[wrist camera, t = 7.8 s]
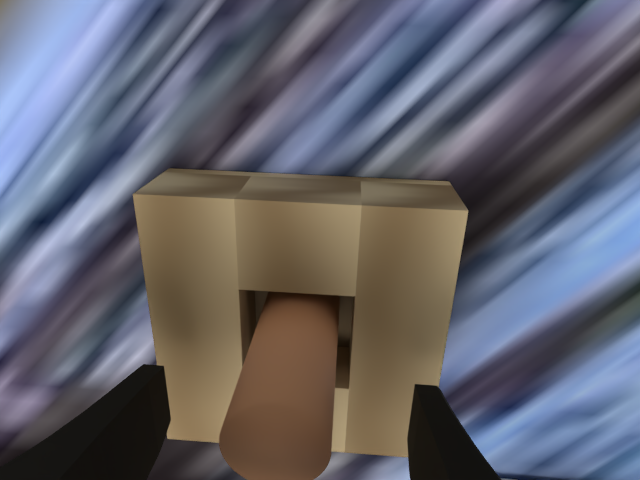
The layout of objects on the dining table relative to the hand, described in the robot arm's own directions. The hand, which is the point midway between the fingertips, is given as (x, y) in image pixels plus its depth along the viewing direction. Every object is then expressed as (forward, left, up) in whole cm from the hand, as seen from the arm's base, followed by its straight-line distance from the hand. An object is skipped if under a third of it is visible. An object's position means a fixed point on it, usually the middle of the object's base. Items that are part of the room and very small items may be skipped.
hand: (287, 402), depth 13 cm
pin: (0, 0, -5) cm, 5 cm away
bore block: (0, 0, -6) cm, 6 cm away
